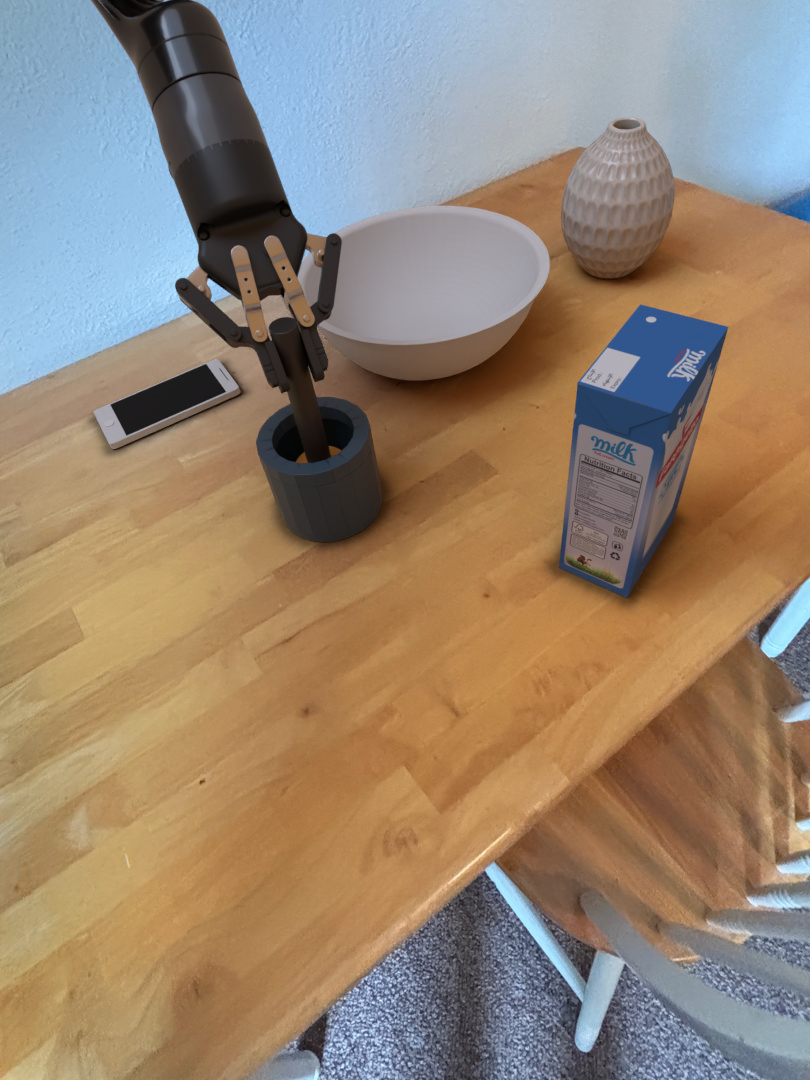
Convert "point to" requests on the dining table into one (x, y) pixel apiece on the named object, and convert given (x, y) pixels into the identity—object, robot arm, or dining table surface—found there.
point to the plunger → (301, 391)
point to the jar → (323, 473)
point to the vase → (618, 200)
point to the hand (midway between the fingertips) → (302, 383)
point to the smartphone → (165, 403)
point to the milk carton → (635, 443)
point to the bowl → (429, 289)
